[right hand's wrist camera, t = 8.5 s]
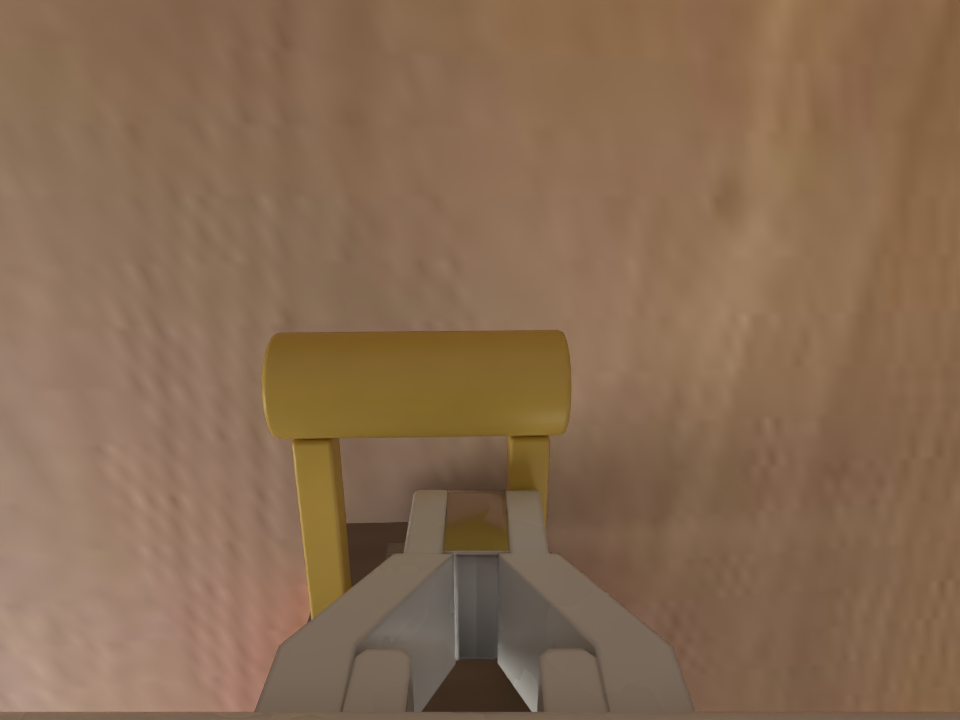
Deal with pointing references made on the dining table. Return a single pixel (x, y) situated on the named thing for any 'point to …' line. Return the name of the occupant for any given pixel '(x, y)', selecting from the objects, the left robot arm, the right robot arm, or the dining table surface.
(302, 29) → the dining table surface
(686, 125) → the dining table surface
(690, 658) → the dining table surface
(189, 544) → the dining table surface
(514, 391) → the drawer
